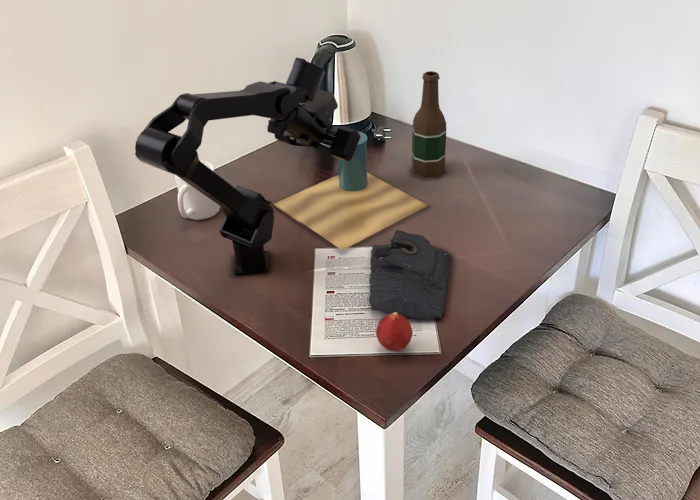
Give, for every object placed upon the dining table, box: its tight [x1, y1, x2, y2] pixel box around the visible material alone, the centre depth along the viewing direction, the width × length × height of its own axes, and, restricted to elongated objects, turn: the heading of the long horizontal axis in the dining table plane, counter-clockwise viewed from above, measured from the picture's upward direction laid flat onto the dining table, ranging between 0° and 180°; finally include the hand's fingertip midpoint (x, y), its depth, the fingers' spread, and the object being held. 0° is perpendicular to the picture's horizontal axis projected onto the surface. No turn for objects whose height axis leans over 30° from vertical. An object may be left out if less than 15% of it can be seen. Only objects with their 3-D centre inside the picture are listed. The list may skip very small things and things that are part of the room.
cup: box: [174, 160, 221, 221], centre depth 141 cm, size 8×12×10 cm
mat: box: [273, 172, 428, 251], centre depth 144 cm, size 24×24×1 cm
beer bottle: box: [411, 70, 447, 178], centre depth 148 cm, size 8×8×24 cm
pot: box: [336, 131, 368, 191], centre depth 147 cm, size 7×7×13 cm
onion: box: [375, 312, 413, 352], centre depth 106 cm, size 6×6×8 cm
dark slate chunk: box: [368, 229, 451, 320], centre depth 121 cm, size 15×22×5 cm
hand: (334, 150), depth 140 cm, fingers open, 9 cm apart
